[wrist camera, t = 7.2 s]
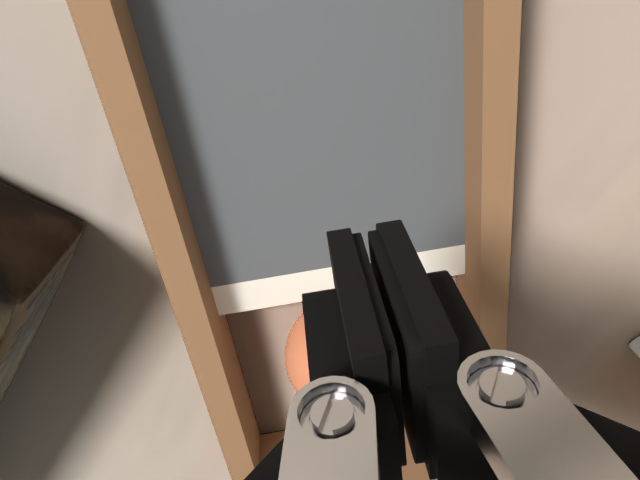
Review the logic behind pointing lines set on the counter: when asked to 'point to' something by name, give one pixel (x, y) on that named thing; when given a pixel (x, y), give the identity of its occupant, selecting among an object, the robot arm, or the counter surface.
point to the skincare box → (635, 346)
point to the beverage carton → (29, 270)
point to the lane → (307, 155)
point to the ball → (297, 355)
